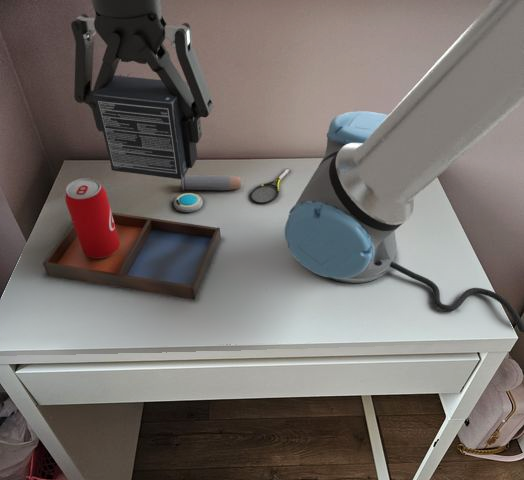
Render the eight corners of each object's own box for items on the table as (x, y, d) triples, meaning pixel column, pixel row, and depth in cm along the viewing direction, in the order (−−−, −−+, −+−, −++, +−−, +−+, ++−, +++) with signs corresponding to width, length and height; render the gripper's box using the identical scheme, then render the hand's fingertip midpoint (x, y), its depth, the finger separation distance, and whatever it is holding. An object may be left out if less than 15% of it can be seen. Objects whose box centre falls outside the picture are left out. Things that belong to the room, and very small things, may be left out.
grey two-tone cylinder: (183, 177, 101) (183, 192, 101) (181, 171, 98) (181, 187, 98) (240, 177, 101) (240, 193, 101) (240, 172, 98) (240, 188, 98)
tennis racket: (244, 200, 98) (267, 208, 97) (244, 197, 98) (267, 204, 96) (277, 168, 105) (298, 174, 104) (277, 164, 105) (299, 171, 103)
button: (199, 193, 99) (198, 188, 98) (205, 209, 96) (204, 203, 95) (171, 198, 98) (170, 192, 97) (177, 214, 95) (176, 208, 94)
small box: (197, 156, 74) (190, 80, 66) (183, 181, 70) (173, 103, 62) (128, 147, 76) (112, 71, 67) (110, 171, 71) (91, 94, 63)
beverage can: (124, 238, 90) (109, 177, 81) (114, 262, 86) (97, 200, 77) (89, 236, 90) (70, 174, 81) (78, 260, 86) (56, 198, 77)
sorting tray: (220, 239, 91) (220, 227, 89) (195, 300, 81) (193, 288, 79) (86, 219, 94) (83, 208, 92) (47, 275, 85) (42, 264, 83)
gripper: (234, -37, 56) (240, 153, 73) (38, -52, 59) (87, 134, 76) (215, -14, 51) (226, 183, 68) (3, -32, 54) (64, 161, 71)
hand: (153, 157), depth 72 cm, fingers closed on small box, 10 cm apart
